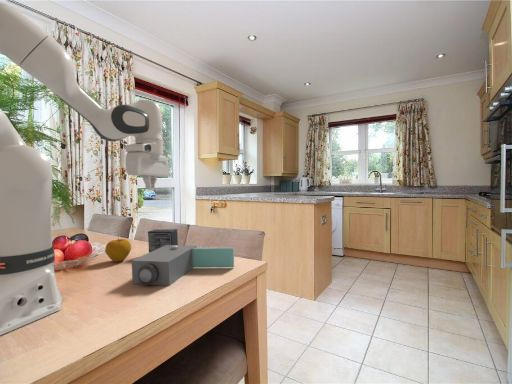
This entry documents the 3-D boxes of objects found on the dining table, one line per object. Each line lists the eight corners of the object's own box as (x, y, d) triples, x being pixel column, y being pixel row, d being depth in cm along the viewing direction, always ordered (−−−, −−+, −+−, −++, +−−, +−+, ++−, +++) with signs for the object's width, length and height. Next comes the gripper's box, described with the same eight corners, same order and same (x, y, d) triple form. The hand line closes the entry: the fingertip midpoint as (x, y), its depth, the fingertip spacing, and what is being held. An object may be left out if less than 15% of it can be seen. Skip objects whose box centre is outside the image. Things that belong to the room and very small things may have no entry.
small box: (179, 252, 115) (178, 228, 115) (172, 256, 109) (172, 231, 109) (155, 252, 116) (154, 228, 116) (148, 256, 110) (147, 231, 110)
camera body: (165, 289, 75) (164, 261, 75) (127, 287, 77) (125, 260, 77) (197, 264, 97) (196, 243, 97) (166, 263, 99) (166, 242, 99)
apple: (114, 266, 98) (112, 241, 98) (100, 262, 103) (99, 239, 103) (136, 259, 106) (135, 237, 105) (122, 257, 110) (122, 235, 110)
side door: (234, 265, 93) (233, 247, 93) (233, 267, 92) (233, 248, 91) (193, 266, 94) (193, 247, 94) (192, 267, 93) (191, 248, 92)
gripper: (158, 153, 103) (158, 189, 103) (121, 145, 83) (122, 189, 83) (173, 152, 102) (173, 189, 102) (139, 144, 82) (140, 189, 82)
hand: (150, 189), depth 93 cm, fingers closed
